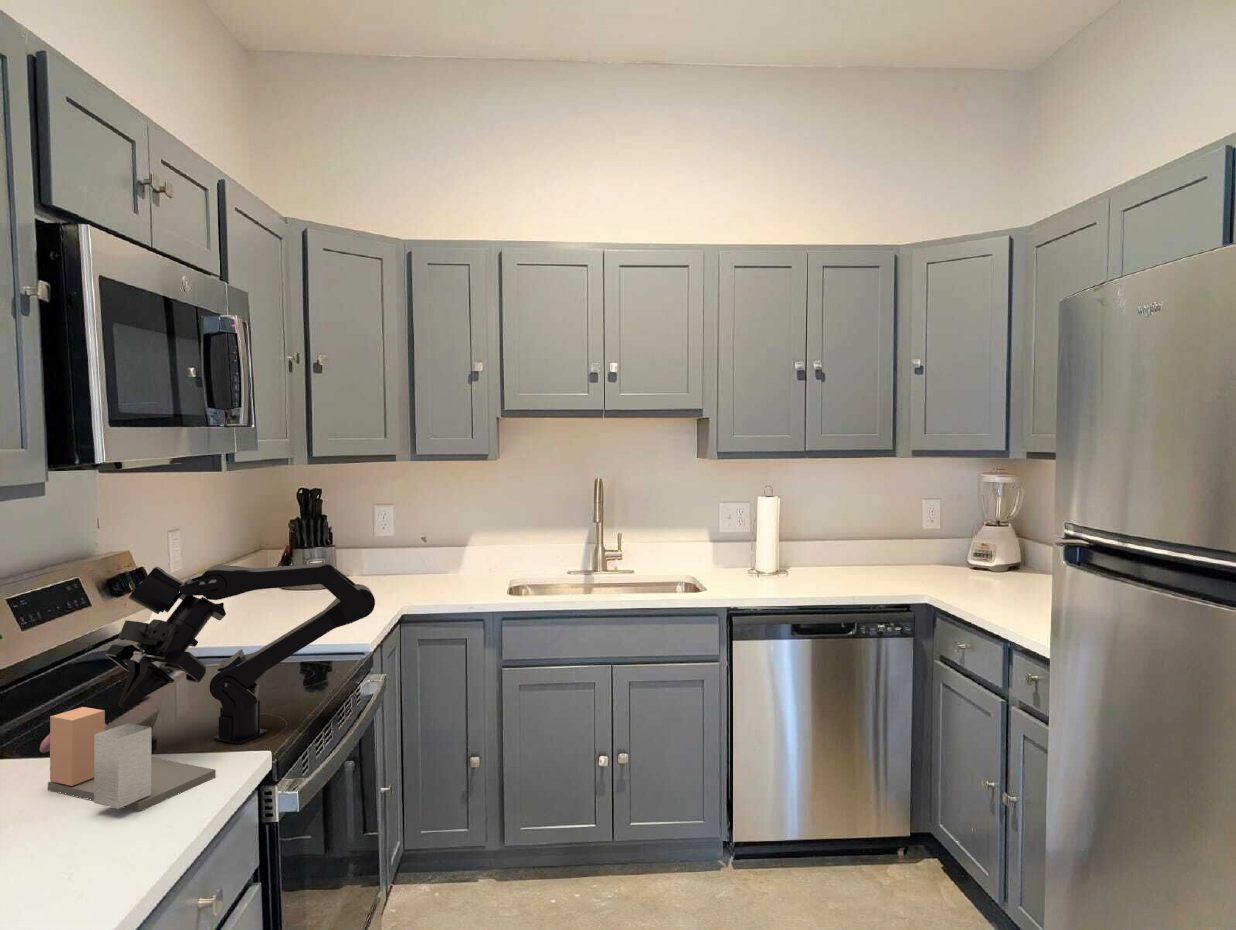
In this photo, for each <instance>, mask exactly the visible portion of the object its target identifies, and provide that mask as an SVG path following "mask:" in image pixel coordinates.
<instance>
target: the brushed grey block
mask: <svg viewBox="0 0 1236 930" xmlns="http://www.w3.org/2000/svg"><path fill="white" fill-rule="evenodd" d="M151 757H152V727H151V726H148V725H147V726H146V725H141V724H140V725H139V724H134V723H129V722H127V723H124V724H121V725H118V726H115V727H112V728H109V729H107V730H106V731H103V732H100V733H97V734H94V801H93V802H94V803H93V804H95V805H101V806H104V807H109V808H113V809H117V810H119V809H122V807H124V806H126V805H128V804H131V803H133V802H135V801H137V800H140V799H142V798H144V797H147V796H149V795H151Z"/></svg>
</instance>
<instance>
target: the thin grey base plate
mask: <svg viewBox="0 0 1236 930" xmlns="http://www.w3.org/2000/svg"><path fill="white" fill-rule="evenodd" d="M216 777H217V775H216V769H214V768H210V767H204V766H199V765H192V764H188V763H184V762H178V761H174V760H173V761H172V760H167V759H165V758H164V759H162V758H159V757H158V758H157V757H153V756H151V795H149V796H147V797H144V798H142V799H140V800H137V801H135V802H133V803H131V804H128V805H126V806H124V808H123V807H121V809H125V810H126V809H127V810H130V809H131V810H130V811H134V812H135V811H136V812H142V811H144V810H146V809H148V808H150V807H152V805H153V806H154V805H157V804H160V803H161V802H163V801H166V800H167V799H166V798H168V799H171V798H172V796H173V797H175V796H177V795H179V794H181V793H183V792H186V791H188V790H191V789H192V788H194V787H197V786H199V785H201V784H203V783H205V782H207V781H210V780H212V779H214V778H216ZM48 789H49V790H50V792H53V791H54V793H58V792H61V793H60V794H62V793H64V794H63V795H66V794H67V796H71V795H74V796H73V797H75V796H78V797H77V798H79V797H81V798H80V799H83V798H88V799H91V800H90V801H92V800H94V778H91V779H89V780H86V781H84V782H81V783H78V784H76V785H73V786H70V785H65V784H61V783H57V782H52V781H48V782H47V790H48ZM49 790H48V791H49ZM185 790H186V791H185ZM180 792H181V793H180ZM65 793H66V794H65ZM178 793H179V794H178ZM176 794H177V795H176ZM174 795H175V796H174ZM88 799H87V800H88ZM165 799H166V800H165Z"/></svg>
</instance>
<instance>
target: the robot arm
mask: <svg viewBox="0 0 1236 930" xmlns="http://www.w3.org/2000/svg"><path fill="white" fill-rule="evenodd" d="M312 585H313V586H315V585H321V586H323V587H324V588H325V589H326V590H327V591H329V592H330V593H331V595H332V596H334V597H335V598H334V599H333V600H332V601H331V603H329V605H328V606H327V607H325V609H323V610H322V611H319V612H318V613H316V615H314V616H312V617H310V618H309V619H307V620H306V621H304V622H303V623H301V624H299V625H297V626H296V627H294V628H292V629H291V630H289V631H287V632H285V633H284V634H283V635H281V636H279V637H278V638H276V639H275V640H273V641H271V642H270V643H267V645H265V646H263V647H261V648H260V649H259V650H256V651H254V652H251V653H248V654H245V653H244V650H243V648H242V649H239V650H238V651H236V653H235V654H233V655H232V656H230V657H229V658H226V659H222V660H221V661H220V663H219V666H218V667H217V668H216V669H215V671H214V673H213V675H212V678H211V680H210V681H209V682H210V683H209V692H210V695H211V697H213V699H215V700H218V701H219V703H220V704H221V706H220V708H219V716H218V734H217V735H215V736H214V737H213V741H219V742H223V743H224V742H225V743H230V744H237V745H240V744H244V743H246V742H248V741H250V740H253V739H255V738H257V737H259V736H262V735H265V734H267V731H268V730H267V729H263V728H261V699H260V698H259V699H258V698H257V697H258V693H259V688H260V685H259V684H258V683H257V681H258V680H259V679H260V678H261V677H262V676H263V674H265V673H266V672H267V671H268V670H270V669H272V668H273V667H275V666H276V665H278V664H280V663H281V662H283V661H285V660H286V659H287V658H289V657H291V656H292V655H294V654H296V653H298V652H299V651H300V650H302V649H304V648H305V647H307V646H308V645H310V644H312V643H314V642H315V641H317V640H318V639H320V638H321V637H323V636H324V635H326V634H327V633H329V632H331V631H334V629H337V628H340V627H343V626H346V625H347V626H348V625H350V624H352V623H355V622H358V621H359V620H360V621H361V620H362V619H365V618H367V617H369V615H371V614H372V613H373V612H374V609H375V606H376V598H375V595H374V594H373V592H372V590H371V589H370V588H369V587H368V586H366V585H364V584H360V583H359V584H358V583H357V584H356V583H355V582H354V581H352V580H351V579H350V578H348V577H347V576H346V575H345V574H343V572H341V571H339V570H338V568H336V567H335V566H334V564H333V563H331V562H329V561H323V562H319V563H310V564H309V563H308V564H297V565H282V566H281V565H280V566H272V567H271V566H270V567H259V568H258V567H257V568H256V567H246V566H239V565H229V564H215V565H213V566H210V567H209V568H207V569H206V570H205V571H204V572H203V573H201V575H198V576H196V577H193V578H188V579H187V580H185V581H181V580H180V579H178V578H176V577H174V576H173V575H171V574H169V573H167V572H166V571H165V570H164V569H163V568H160V567H159V566H154V567H153V568H152V570H151V571H150V572H149V573H148V574H147V576H145V578H144V579H143V580H141V581H140V582H139V583H138V584H137V585H136V586H135V588H134V589H133V590H132V592H131V593H130V595H129V596H128V599H129V600H131V601H132V602H135V603H136V604H138V605H140V606H141V607H144V608H146V609H147V610H149V611H151V612H152V613H155V614H156V615H159V614H160V613H164V612H165V613H169V612H170V610H171V609H172V608H173V607H174V605H176V603H177V602H178V601H179V600H181V602H180V603H179V604H178V605H177V607H176V608H175V609H174V610H173V612H172V613H171V614H170V615H169V617H168V618H167V619H166V620H162V619H152V620H151V621H150V622H149V623H148V622H142V621H136V620H124V623H123V626H122V628H121V631H120V633H119V635H118V638H117V639H118V640H120V641H121V640H122V641H124V640H125V641H131V642H135V643H137V644H136V645H134V644H131V643H124V642H118V643H112V644H111V645H110V647H109V648H108V649H107V651H106V652H105V653H104V656H106V657H107V658H109V659H110V660H111V661H112V662H114V663H115V664H116V665H118V666H119V667H120V668H122V669H123V670H125V671H127V672H128V675H127V679H126V682H125V686H124V688H123V691H122V693H121V696H120V699H119V702H118V707H120V709H128V708H129V707H131V706H132V705H134V704H136V703H137V702H139V701H141V700H142V699H144V698H145V697H147V696H149V695H151V694H152V693H154V692H157V690H160V689H161V688H163V687H165V686H166V685H170V684H173V683H175V679H174V678H173V677H174V676H175V675H176V674H177V672H184V673H185V678H186V679H185V680H186V681H188V682H192V683H198V684H199V683H200V682H201V680H203V678H204V676H205V675H206V673H207V670H206V668H207V667H206V665H205V664H204V663H203V662H202V661H200V659H198V658H197V657H196V656H194V654H192V653H191V652H190V651H187V649H188V648H190V647H192V648H193V647H194V648H195V647H196V646H197V645H198V644H199V641H198V640H197V636H198V635H199V634H200V633H201V631H202V630H203V629H204V628H205V626H206V625H207V623H208V622H209V620H210V619H211V618H214V619H215V620H218V621H222V620H223V619H224V617H226V615H227V612H226V609H225V607H224V606H225V605H224V604H225V603H224V602H220V603H214V602H213V601H218V600H219V601H220V600H223V599H227V598H231V597H235V596H239V595H242V594H245V593H248V592H252V591H256V590H268V589H278V588H279V589H280V588H281V589H282V588H290V587H302V586H312ZM196 596H197V597H196ZM199 596H201V597H200V598H199ZM141 650H143V652H142V651H141Z"/></svg>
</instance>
